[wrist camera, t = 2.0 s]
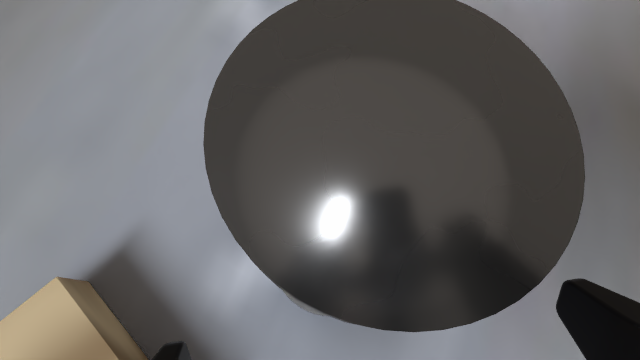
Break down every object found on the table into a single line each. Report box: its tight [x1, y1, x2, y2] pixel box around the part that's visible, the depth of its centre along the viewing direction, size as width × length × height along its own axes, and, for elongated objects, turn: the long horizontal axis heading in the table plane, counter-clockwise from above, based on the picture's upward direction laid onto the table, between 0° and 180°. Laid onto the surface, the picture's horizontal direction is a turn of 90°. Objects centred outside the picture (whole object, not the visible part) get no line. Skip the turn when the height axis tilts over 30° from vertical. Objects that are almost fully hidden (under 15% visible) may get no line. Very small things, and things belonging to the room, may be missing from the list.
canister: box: [204, 0, 585, 332], centre depth 12 cm, size 6×6×14 cm
